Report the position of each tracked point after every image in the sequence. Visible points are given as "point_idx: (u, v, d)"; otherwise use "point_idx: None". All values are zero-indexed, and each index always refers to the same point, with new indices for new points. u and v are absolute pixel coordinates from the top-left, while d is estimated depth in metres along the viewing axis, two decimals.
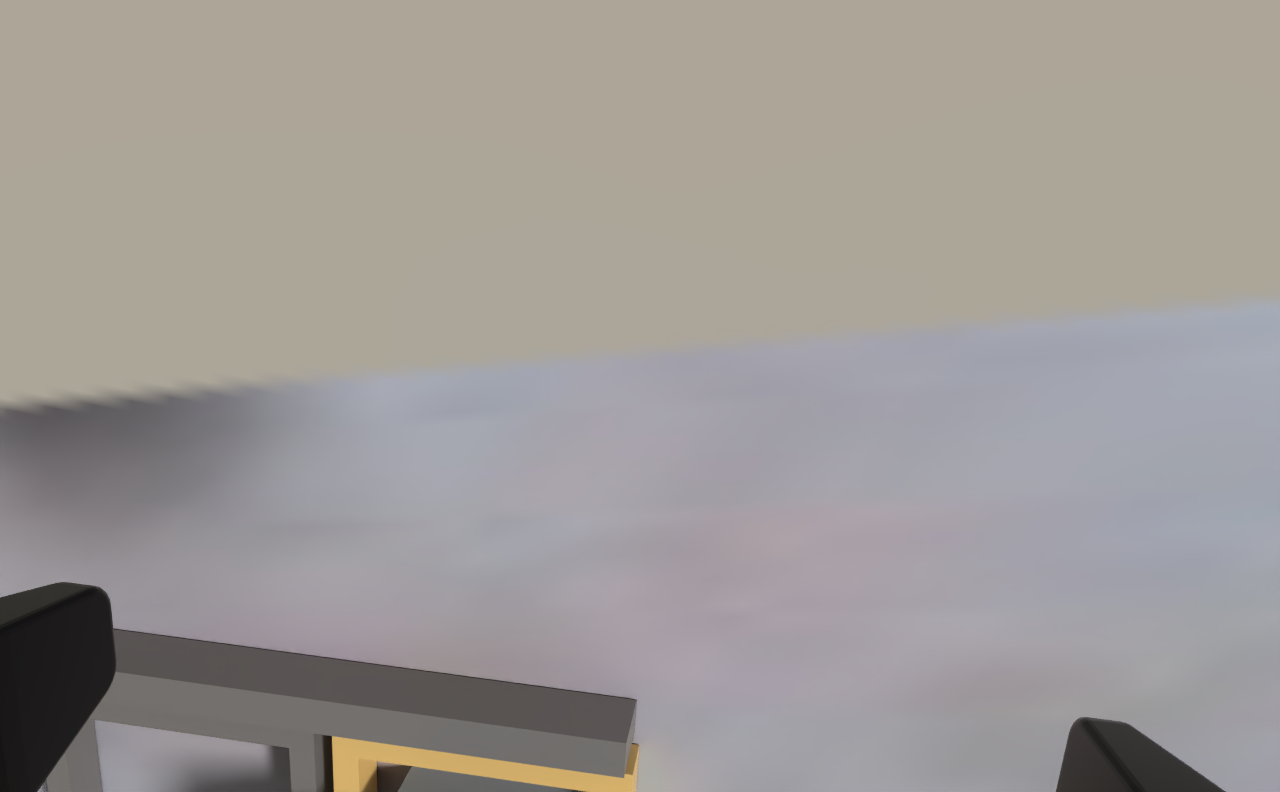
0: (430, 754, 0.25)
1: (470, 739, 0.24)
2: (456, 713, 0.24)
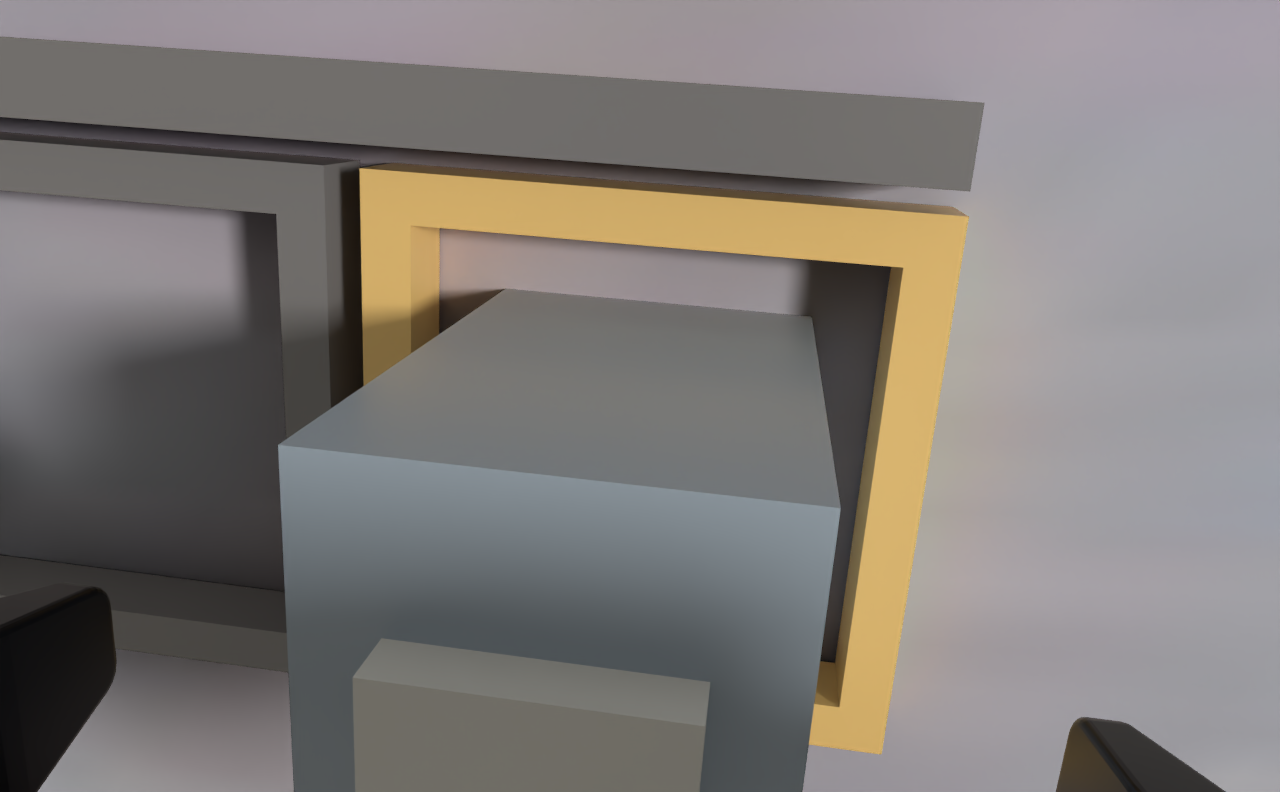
0: (554, 203, 0.13)
1: (647, 125, 0.12)
2: None
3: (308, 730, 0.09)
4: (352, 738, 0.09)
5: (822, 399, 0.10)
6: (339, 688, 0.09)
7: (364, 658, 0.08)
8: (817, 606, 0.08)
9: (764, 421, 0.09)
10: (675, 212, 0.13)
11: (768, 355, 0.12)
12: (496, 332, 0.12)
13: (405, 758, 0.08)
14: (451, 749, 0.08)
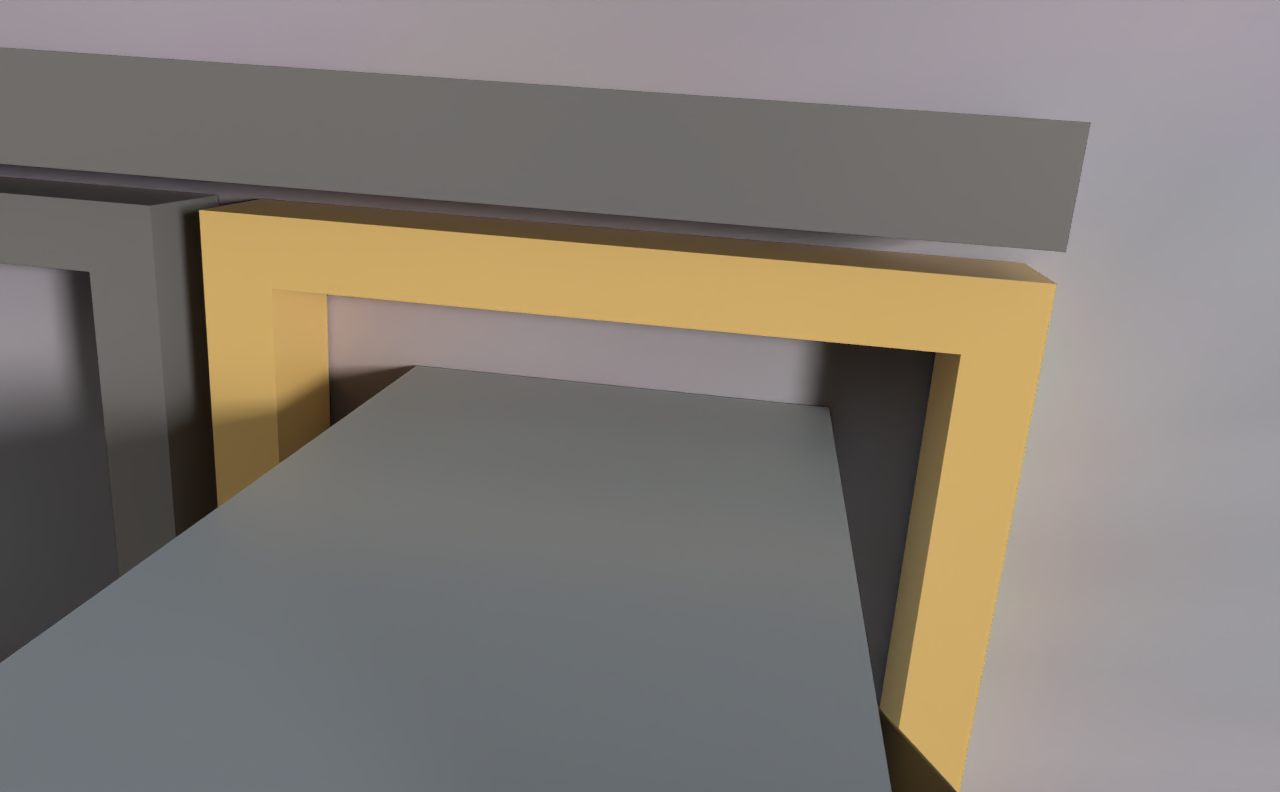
0: (468, 260, 0.09)
1: (593, 153, 0.08)
2: None
3: None
4: None
5: (856, 591, 0.06)
6: None
7: None
8: None
9: (763, 656, 0.06)
10: (637, 274, 0.09)
11: (770, 489, 0.08)
12: (374, 452, 0.08)
13: None
14: None
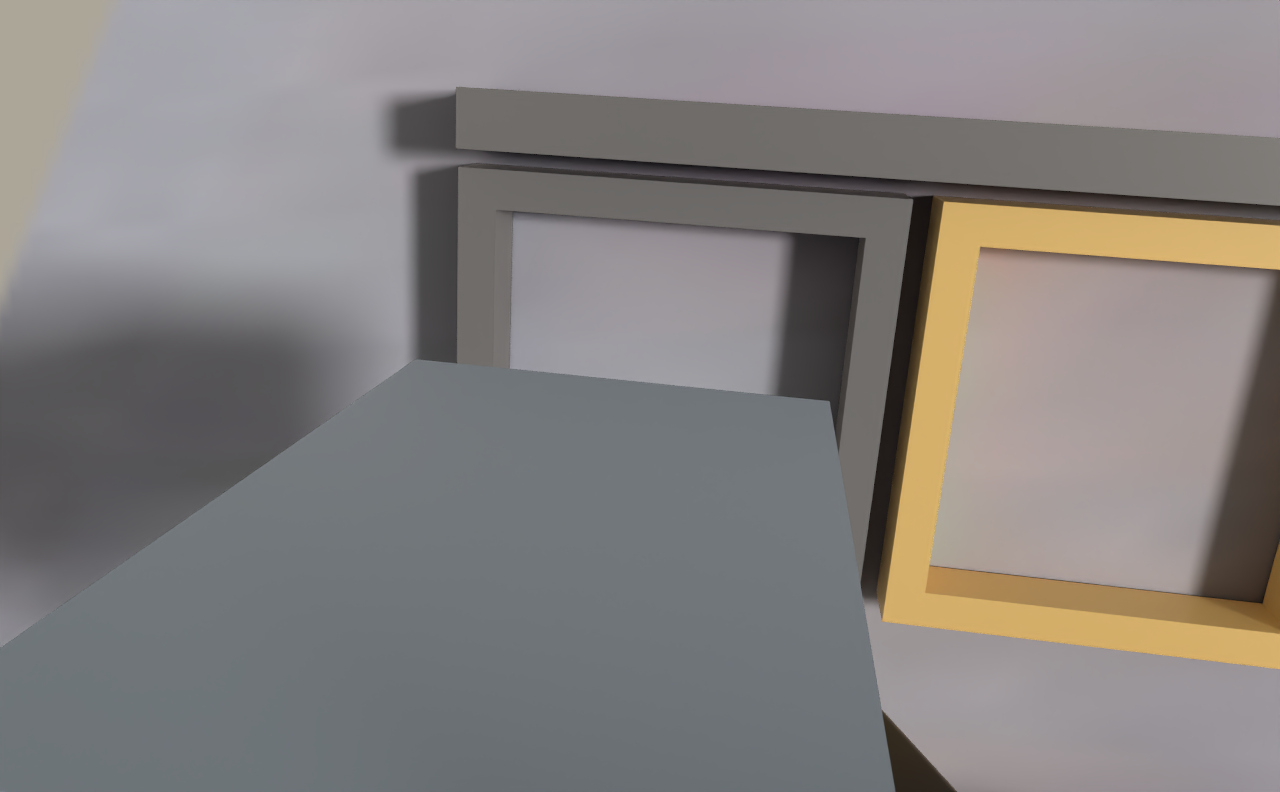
0: (1106, 228, 0.16)
1: (1215, 168, 0.15)
2: None
3: None
4: None
5: (857, 582, 0.06)
6: None
7: None
8: None
9: (764, 646, 0.06)
10: (1207, 235, 0.16)
11: (770, 481, 0.08)
12: (373, 444, 0.08)
13: None
14: None
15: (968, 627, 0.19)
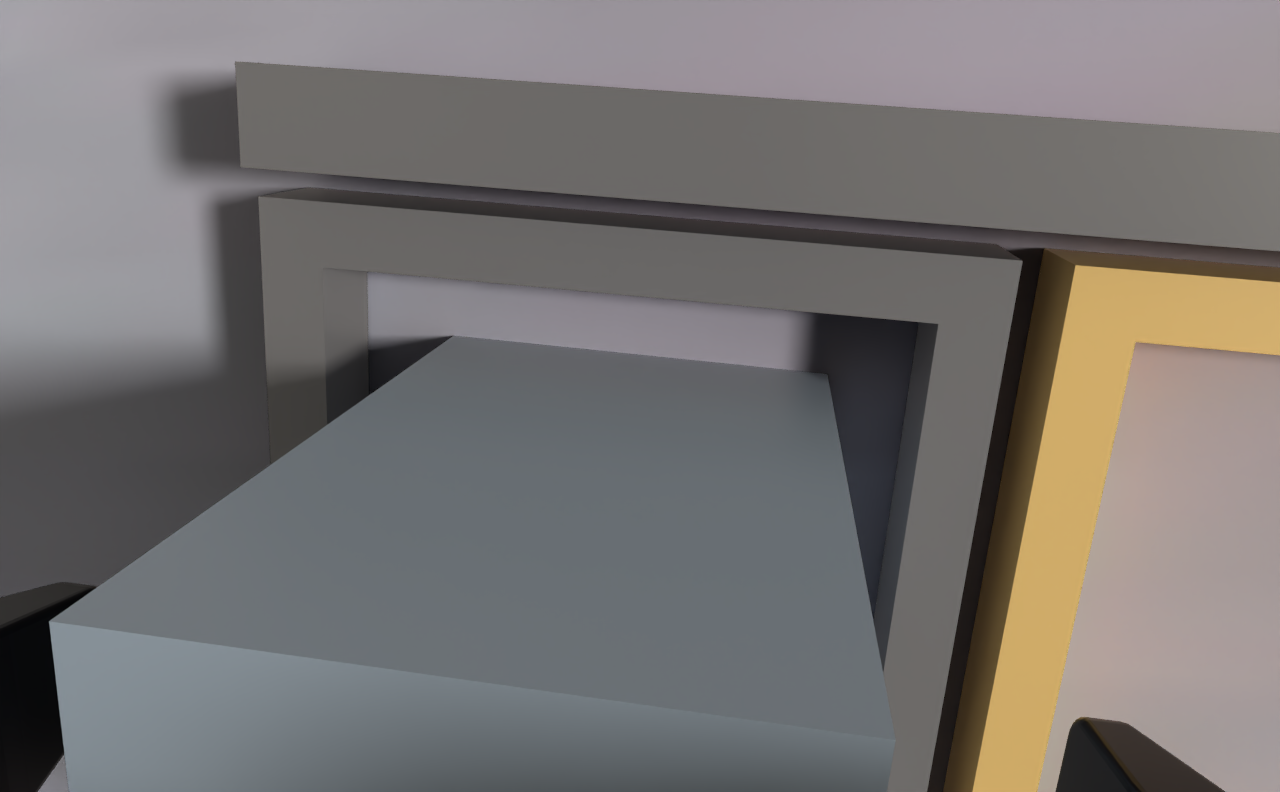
0: None
1: None
2: None
3: None
4: None
5: (850, 512, 0.08)
6: None
7: None
8: None
9: (773, 556, 0.07)
10: None
11: (776, 436, 0.09)
12: (427, 403, 0.09)
13: None
14: None
15: None
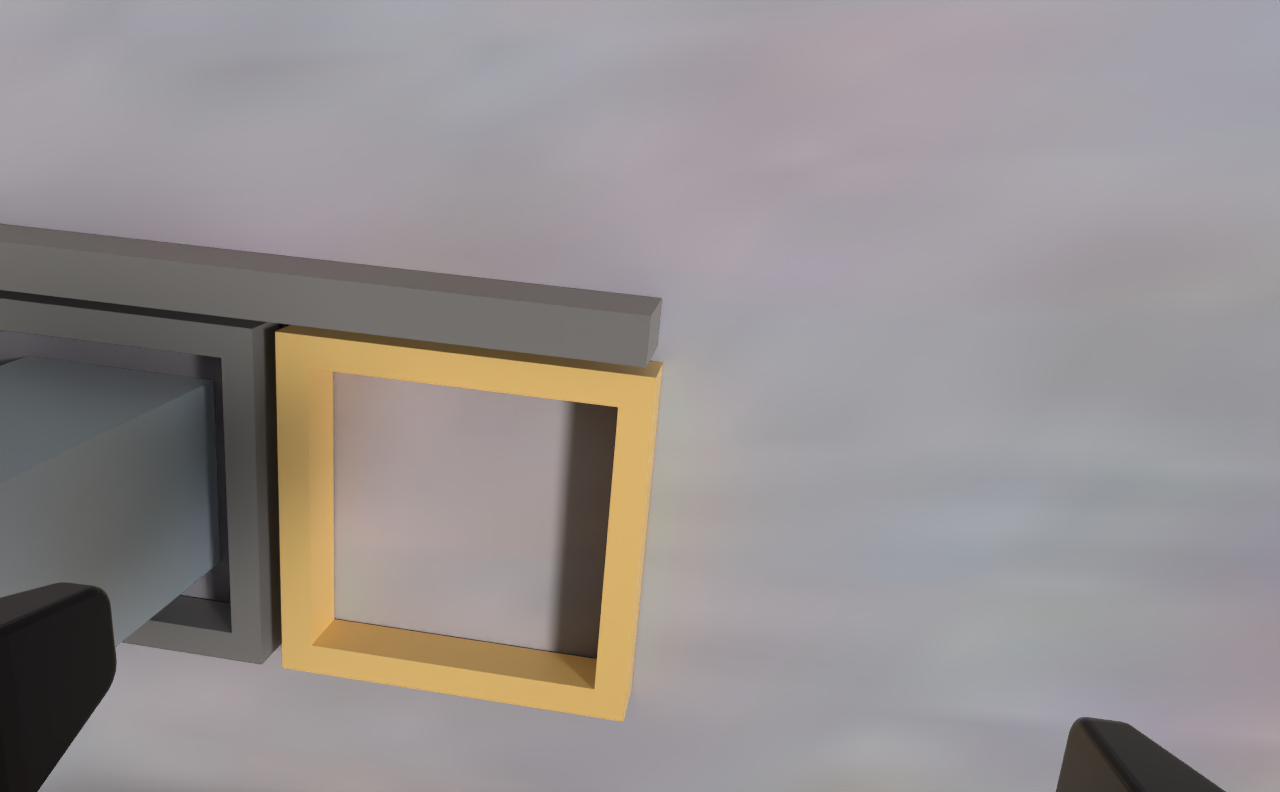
0: (399, 358, 0.20)
1: (450, 319, 0.19)
2: (433, 289, 0.19)
3: None
4: None
5: (90, 439, 0.18)
6: None
7: None
8: None
9: (24, 451, 0.17)
10: (475, 367, 0.20)
11: (117, 409, 0.20)
12: None
13: None
14: None
15: (354, 674, 0.22)
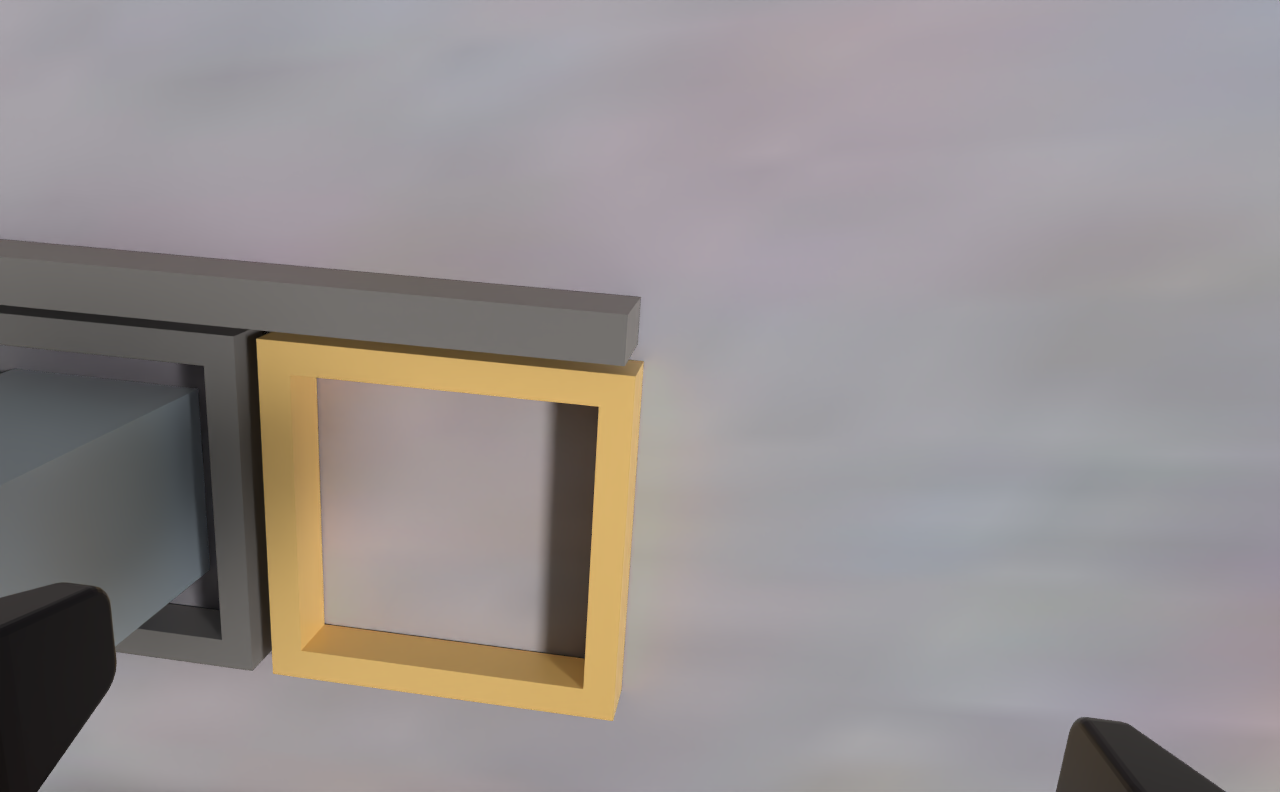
0: (380, 363, 0.20)
1: (428, 322, 0.19)
2: (411, 292, 0.19)
3: None
4: None
5: (72, 449, 0.18)
6: None
7: None
8: None
9: (5, 463, 0.17)
10: (456, 370, 0.20)
11: (100, 419, 0.20)
12: None
13: None
14: None
15: (344, 678, 0.23)
